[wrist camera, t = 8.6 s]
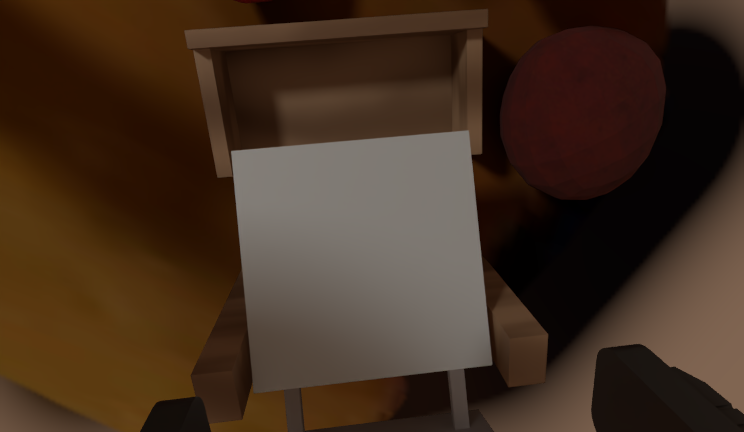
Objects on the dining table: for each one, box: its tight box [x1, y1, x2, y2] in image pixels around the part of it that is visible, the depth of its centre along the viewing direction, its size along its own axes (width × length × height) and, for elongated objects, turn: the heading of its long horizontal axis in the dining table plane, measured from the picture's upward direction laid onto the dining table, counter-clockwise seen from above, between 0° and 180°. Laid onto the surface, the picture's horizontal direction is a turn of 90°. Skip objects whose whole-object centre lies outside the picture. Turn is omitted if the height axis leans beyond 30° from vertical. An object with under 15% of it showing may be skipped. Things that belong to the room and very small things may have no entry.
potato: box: [500, 26, 666, 200], centre depth 30 cm, size 12×11×8 cm
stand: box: [184, 9, 548, 424], centre depth 28 cm, size 26×18×15 cm
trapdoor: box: [231, 130, 494, 432], centre depth 24 cm, size 20×13×4 cm, turn 4°
